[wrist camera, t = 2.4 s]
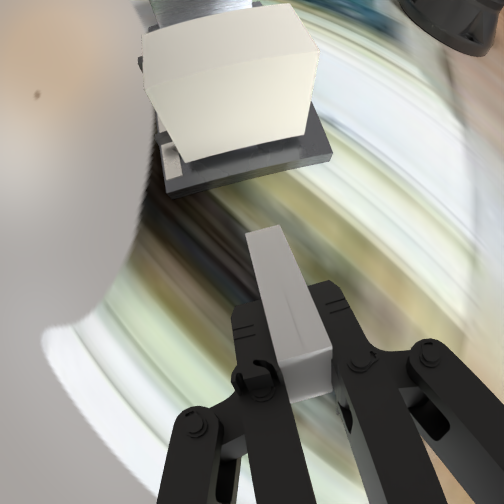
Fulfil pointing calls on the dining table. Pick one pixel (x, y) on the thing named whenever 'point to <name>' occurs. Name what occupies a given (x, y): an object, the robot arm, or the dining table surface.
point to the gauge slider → (230, 79)
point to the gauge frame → (240, 160)
